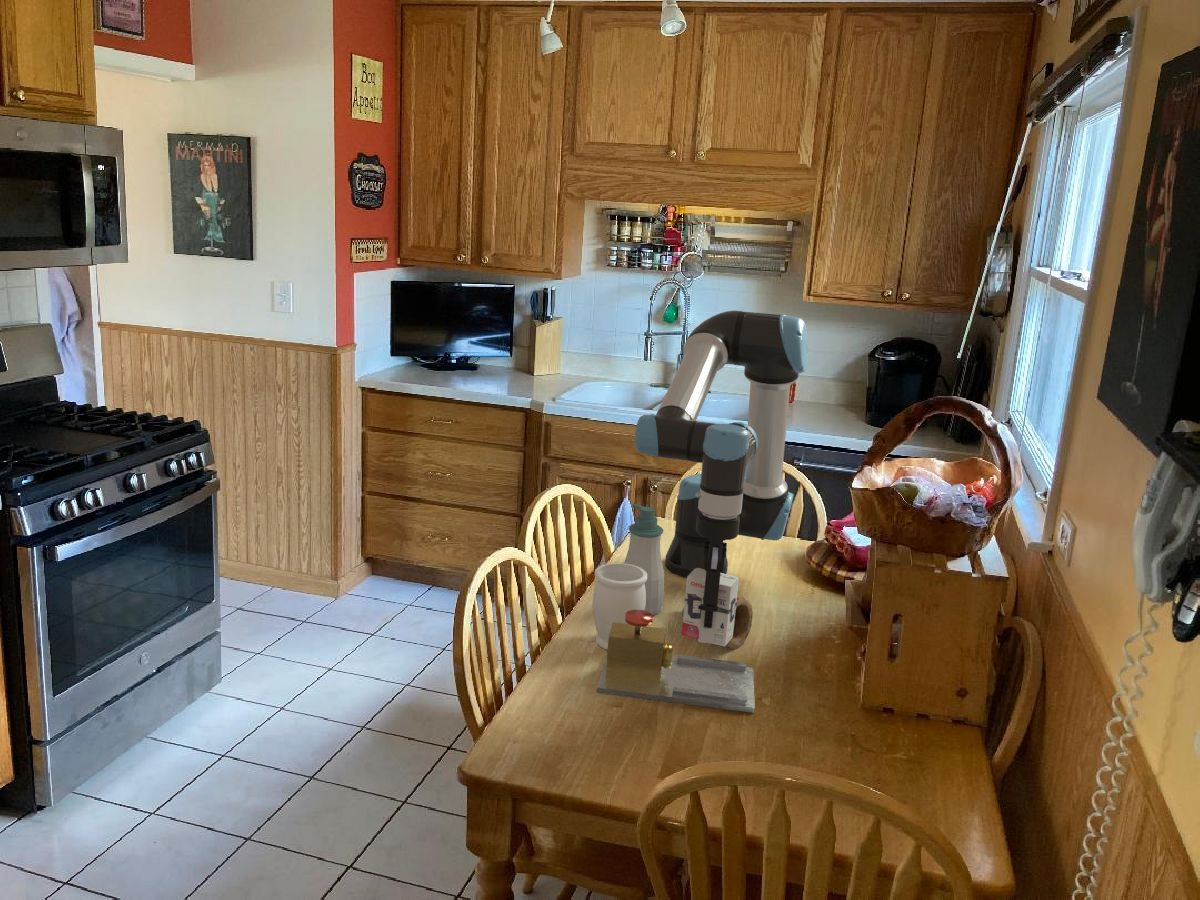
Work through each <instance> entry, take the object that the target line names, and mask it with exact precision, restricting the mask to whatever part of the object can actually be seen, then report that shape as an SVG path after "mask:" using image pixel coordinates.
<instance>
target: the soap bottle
mask: <svg viewBox="0 0 1200 900" xmlns="http://www.w3.org/2000/svg"><path fill="white" fill-rule="evenodd" d="M632 508H634V509H637V510H639V511H640V513H639V515H637V516H636V518H635V523H633V524H630V525H629V527H628V530H629V533H630V534H629V543H628V549H627V553H626V556H625V559H624V562H623V563H625V564H631V565H635V566H638V567H640V568H642V569H644V570H645V571H646V572H647V574H648V576H647V581H646V582H645V583H644V584H645V590H646V604H645V610H644V611H647V612H650V613H651V614H652V615H653V617H654V616H656V615H658V614H659V613H660V612H661V611H662V608H663V606H664V593H665V572H664V567H663V561H662V555H661V538H662V537H661V536H662V534H663V533H664V529H663V527H662V526H660V525H659V524H658V517H657V516H655V508H653V507H651V506H643V505H641V504H638V503H633V504H632Z"/></svg>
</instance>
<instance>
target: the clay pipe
mask: <svg viewBox="0 0 1200 900" xmlns="http://www.w3.org/2000/svg"><path fill="white" fill-rule="evenodd" d="M683 612H684V607H683V608H682V611H681V615H682V618H683ZM753 614H754V612H753V606H752V603H751V601H750V600H749V599H747V598H746V597H744V596H743V595H737V602H736V611H735V620H734V629H733V637H732V638H731V640H730V641H729V642H728V643H727V645H726V646H725V647H726V648H727V649H729V650H731V649H733V650H734V649H737V648H740V647H741V646H743V644H744V643H745V641H746V640H747V638H748V637H749V634H750V631H751V629H752V624H753V619H754V618H753V617H754V616H753ZM739 646H740V647H739Z"/></svg>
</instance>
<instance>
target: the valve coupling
mask: <svg viewBox="0 0 1200 900" xmlns="http://www.w3.org/2000/svg"><path fill="white" fill-rule="evenodd" d="M653 618H654V616H653V615H652V614H651V613H650V612H647V611H644V610H630V611H628V612H626V614H625V621H626V622H627V623H628V624H623V623H615V622H613V623H612V627H611V630H610V633H609V638H608V650H606V651H607V652H606V655H605V658H604V662H603V665H602V669H601V671H600V672H601V673H600V676H599V679H598V681H597V686H596V693H597V694H604V695H605V694H606V695H614V696H619V697H620V696H621V697H629V698H635V699H636V698H637V699H643V700H645V699H646V700H652V701H659V702H666V703H667V702H668V703H674V704H675V703H676V704H683V705H692V706H697V707H698V706H699V707H706V708H713V709H721V710H728V711H729V710H730V711H736V712H744V713H745V712H746V713H752V714H754V713H755V709H756V708H755V703H756V702H755V681H754V680H755V679H754V678H755V677H754V675H755V674H754V667H753V666H747V663H746V662H742V661H735V660H734V661H731V660H725V659H717V658H710V657H709V658H707V657H699V656H692V655H683V654H677V657H673V651H674V644H672V643H666V633H667V628H666V627H664V628H663V627H654V626H650V625H652V623H653V620H654V619H653Z"/></svg>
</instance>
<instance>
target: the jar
mask: <svg viewBox="0 0 1200 900" xmlns="http://www.w3.org/2000/svg"><path fill="white" fill-rule="evenodd" d="M647 576H648V574H647V572H646V571H645V570H644V569H642V568H640V567H638V566H635V565H631V564H625V563H624V562H623V563H622V562H614V563H613V562H612V563H605V564H601V565H599V566H598V567H597V568H596V569H595V570H594V577H595V579H596V581H595V585H594V588H593V594H592V595H593V596H592V609H593V610H592V612H593V620H594V621H593V622H594V626H595V630H596V632H597V634H596V636H595V644H597V646H598V647H600V648H603V649H605V650H606V651H608V638H609V633H610V630H611V627H612V623H613V622H615V623H623V624H628V623H627V622H626V621H625V614H626V612H628V611H630V610H645V604H646V590H645V584H644V583H645V582H646V581H647Z"/></svg>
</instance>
